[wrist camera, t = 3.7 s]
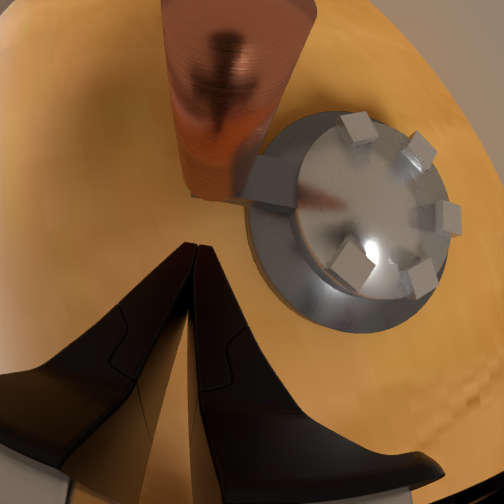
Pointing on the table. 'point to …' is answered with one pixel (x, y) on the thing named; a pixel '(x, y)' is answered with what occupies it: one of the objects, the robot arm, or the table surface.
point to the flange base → (294, 265)
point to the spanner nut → (315, 160)
